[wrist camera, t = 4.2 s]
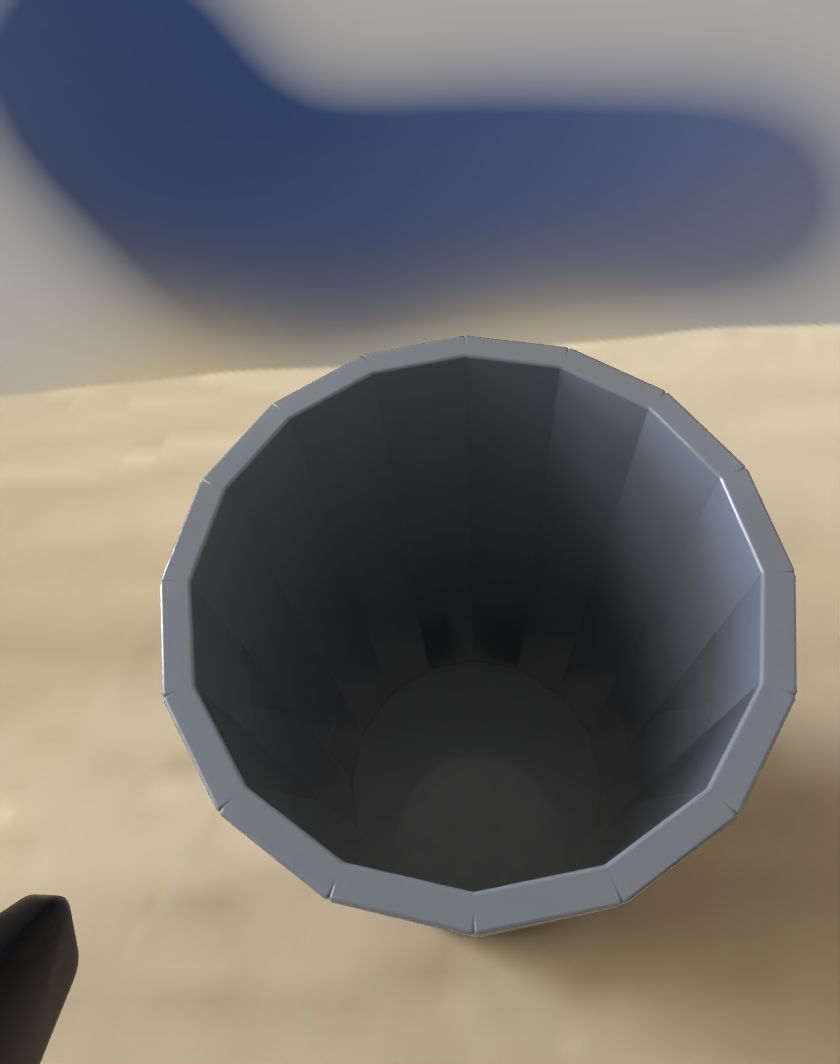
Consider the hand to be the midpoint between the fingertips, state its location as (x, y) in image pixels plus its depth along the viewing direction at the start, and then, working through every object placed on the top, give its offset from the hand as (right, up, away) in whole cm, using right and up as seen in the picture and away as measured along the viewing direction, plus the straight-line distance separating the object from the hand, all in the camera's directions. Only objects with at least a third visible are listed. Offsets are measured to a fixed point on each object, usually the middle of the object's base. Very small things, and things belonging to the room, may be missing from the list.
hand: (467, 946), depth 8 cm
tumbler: (+1, -2, +11) cm, 11 cm away
